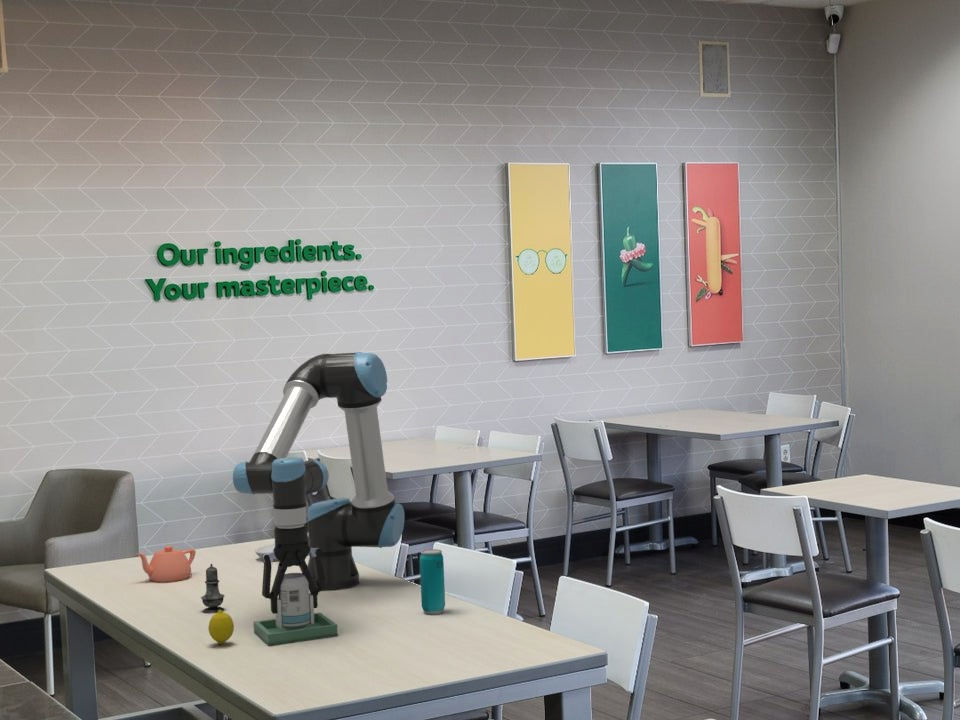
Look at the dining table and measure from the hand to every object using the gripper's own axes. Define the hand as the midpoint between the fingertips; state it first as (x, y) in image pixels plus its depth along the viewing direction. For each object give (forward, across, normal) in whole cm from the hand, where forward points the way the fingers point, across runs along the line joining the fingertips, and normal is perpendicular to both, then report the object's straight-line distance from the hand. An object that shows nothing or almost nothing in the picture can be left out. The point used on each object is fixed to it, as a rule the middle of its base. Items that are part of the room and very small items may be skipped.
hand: (295, 624), depth 273 cm
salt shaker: (+2, +12, -35) cm, 37 cm away
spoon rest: (+3, -24, -95) cm, 98 cm away
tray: (+2, 0, 0) cm, 2 cm away
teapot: (+3, +16, -83) cm, 84 cm away
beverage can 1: (+1, 0, 0) cm, 1 cm away
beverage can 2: (+2, -35, -2) cm, 35 cm away
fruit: (+2, +17, 0) cm, 17 cm away
